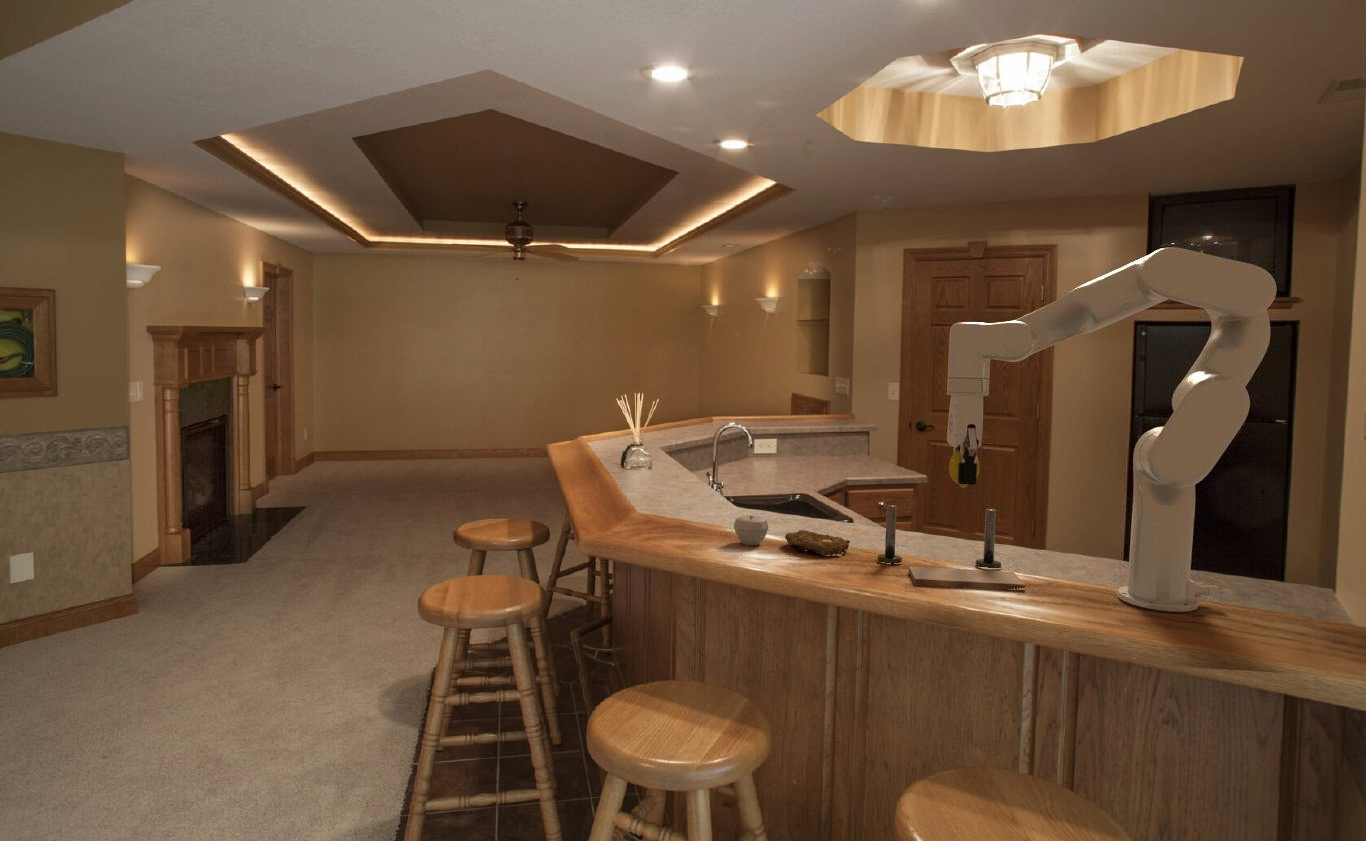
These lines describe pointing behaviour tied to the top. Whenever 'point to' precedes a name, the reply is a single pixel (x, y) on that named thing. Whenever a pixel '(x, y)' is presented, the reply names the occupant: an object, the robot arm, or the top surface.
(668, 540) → the top surface
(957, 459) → the lemon
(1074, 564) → the top surface
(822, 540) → the decorative rock
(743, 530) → the apple
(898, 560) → the post far side
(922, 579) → the walnut board
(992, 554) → the post arm side
